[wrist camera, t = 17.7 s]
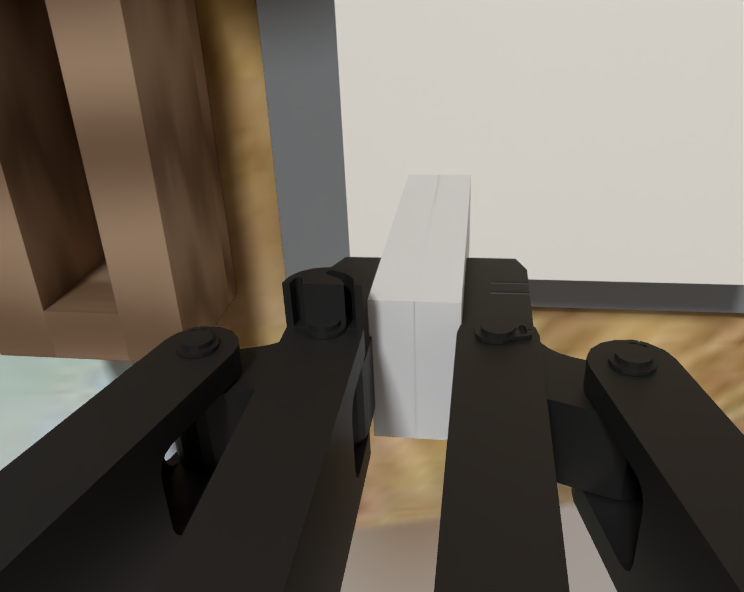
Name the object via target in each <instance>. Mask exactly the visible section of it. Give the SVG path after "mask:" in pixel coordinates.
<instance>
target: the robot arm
mask: <svg viewBox="0 0 744 592" xmlns="http://www.w3.org/2000/svg"><path fill="white" fill-rule="evenodd" d="M470 201H471V175H408V178H407V181H406V184H405V187H404V190H403V193H402V196H401V199H400V203H399V206H398V209H397V212H396V215H395V218H394V221H393V224H392V227H391V230H390V233H389V236H388V239H387V242H386V245H385V248H384V251H383V254H382V257H381V258H379V257H345V258H343V259H342V260H341V261H339V262H338V263H336V264H335V265H333V266H332V267H322V268H312V269H308V270H303V271H300V272H297V273H295V274H293V275H291V276H289V277H288V278H287V279H286V280H285V281H284V282H283V283H282V287H283V296H284V305H285V314H286V323H287V328H286V330H285V332H284V334H283V336H282V338H281V340H280V342H278V343H275V344H271V345H266V346H260V347H253V348H246V349H240V348H239V341H238V337H237V336H236V335H235V334H234V333H233V332H232V331H230V330H227V329H224V328H221V327H209V326H200V327H193V328H189V329H188V330H185V331H182V332H179V333H176V334H174V335H173V336H171V337H169V338H168V339H166V340H164V341H163V342H162V343H161V344H159V345H158V346H157V347H155V348H154V349H153V350H152V351H150V352H149V353H148V354H147V355H145V356H144V357H143V358H142V359H140V360H139V361H138V362H137V363H135V364H134V365H133V366H132V367H130V368H129V369H128V370H127V371H125V372H124V373H123V374H122V375H120V376H119V377H118V378H116V379H115V380H114V381H113V382H111V383H110V384H109V385H108V386H106V387H105V388H104V389H103V390H101V391H100V392H99V393H98V394H96V395H95V396H94V397H93V398H91V399H90V400H89V401H88V402H86V403H85V404H84V405H82V406H81V407H80V408H79V409H77V410H76V411H75V412H74V413H72V414H71V415H70V416H69V417H67V418H66V419H65V420H64V421H62V422H61V423H60V424H59V425H57V426H56V427H55V428H54V429H52V430H51V431H50V432H49V433H47V434H46V435H45V436H43V437H42V438H41V439H40V440H38V441H37V442H36V443H35V444H33V445H32V446H31V447H30V448H28V449H27V450H26V451H25V452H23V453H22V454H21V455H20V456H18V457H17V458H16V459H15V460H13V461H12V462H11V463H9V464H8V465H7V466H6V467H4V468H3V469H2V470H1V471H0V592H340V590H341V585H342V581H343V577H344V572H345V568H346V563H347V559H348V554H349V549H350V545H351V541H352V536H353V532H354V527H355V523H356V518H357V514H358V509H359V505H360V500H361V496H362V491H363V487H364V482H365V478H366V473H367V469H368V464H369V460H370V455H371V451H370V433H369V431H370V426H371V422H372V418H373V420H374V436H389V437H405V438H422V439H438V440H447V450H446V461H445V473H444V484H443V496H442V507H441V519H440V530H439V543H438V554H437V565H436V576H435V589H434V592H569V584H568V575H567V567H566V558H565V550H564V541H563V532H562V523H561V515H560V506H559V498H558V489H557V483H561V484H564V485H567V486H570V487H572V489H571V491H572V496H573V501H574V503H575V505H576V507H577V509H578V511H579V513H580V515H581V517H582V519H583V521H584V524H585V525H586V528H587V530H588V532H589V534H590V536H591V538H592V540H593V542H594V544H595V546H596V548H597V550H598V553H599V555H600V557H601V559H602V561H603V563H604V565H605V567H606V569H607V571H608V573H609V575H610V577H611V579H612V581H613V583H614V586H615V588H616V590H617V592H744V435H743V434H742V433H741V431H740V430H739V429H738V428H737V427H736V426H735V425H734V424H733V423H732V421H731V420H730V419H729V418H728V417H727V416H726V415H725V414H724V412H723V411H722V410H721V409H720V408H719V407H718V406H717V405H716V403H715V402H714V401H713V400H712V399H711V398H710V397H709V396H708V394H707V393H706V392H705V391H704V390H703V389H702V388H701V387H700V385H699V384H698V383H697V382H696V381H695V380H694V379H693V378H692V376H691V375H690V374H689V373H688V372H687V371H686V370H685V369H684V367H683V366H682V365H681V364H680V363H679V362H678V361H677V360H676V359H675V358H674V357H673V356H671V355H670V354H669V353H668V352H666V351H665V350H663V349H660V348H658V347H656V346H653V345H651V344H649V343H645V342H641V341H640V342H638V341H636V340H613V341H608V342H604V343H600V344H598V345H597V346H595V347H593V348H591V349H590V351H589V353H588V355H587V358H586V360H583V359H578V358H574V357H570V356H566V355H563V354H560V353H557V352H555V351H553V350H551V349H549V348H547V347H546V346H545V345H543V344H542V343H541V342H540V336H539V334H538V332H537V330H536V328H535V327H534V326H533V319H532V310H531V301H530V295H529V293H530V292H529V284H528V274H527V269H526V268H525V267H524V266H523V265H522V264H521V263H519V262H518V261H517V260H516V259H507V258H469V244H470ZM174 442H175V443H176V448H177V452H176V453H175V454H174V455H173V456H172V457H171V458H170V459H169V460H167V461H166V460H165V459H164V456H165V454H166V452H167V451H168V449H169V448H170V446H171V445H172V444H173V443H174Z"/></svg>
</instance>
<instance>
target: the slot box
mask: <svg viewBox="0 0 744 592" xmlns="http://www.w3.org/2000/svg"><path fill="white" fill-rule="evenodd" d="M236 294H237V290H236V283H235V276H234V269H233V263H232V256H231V249H230V242H229V235H228V228H227V221H226V214H225V207H224V200H223V193H222V186H221V180H220V173H219V166H218V159H217V152H216V145H215V138H214V131H213V124H212V117H211V110H210V103H209V97H208V90H207V83H206V76H205V69H204V62H203V55H202V48H201V41H200V34H199V27H198V20H197V14H196V7H195V0H0V354H1V355H13V356H35V357H56V358H78V359H100V360H122V361H139V360H140V359H142V358H143V357H144V356H145V355H147V354H148V353H149V352H150V351H152V350H153V349H154V348H155V347H157V346H158V345H159V344H161V343H162V342H163V341H164V340H166V339H168V338H169V337H171V336H173V335H174V334H176V333H179V332H182V331H185V330H188V329H189V328H193V327H200V326H209V327H214V326H215V325H216V323H217V322H218V320H219V319H220V317H221V316H222V314H223V313H224V312H225V310H226V309H227V307H228V306H229V304H230V303H231V301H232V300H233V298H234V297H235V296H236Z"/></svg>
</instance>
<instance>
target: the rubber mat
mask: <svg viewBox="0 0 744 592" xmlns="http://www.w3.org/2000/svg"><path fill="white" fill-rule="evenodd" d="M256 5H257V14H258V23H259V32H260V42H261V51H262V60H263V70H264V79H265V88H266V97H267V107H268V116H269V125H270V135H271V144H272V153H273V162H274V172H275V181H276V190H277V199H278V209H279V218H280V227H281V237H282V246H283V255H284V264H285V274H286V279H287V278H288V277H289V276H291V275H293V274H295V273H297V272H300V271H303V270H308V269H312V268H322V267H332V266H333V265H335V264H336V263H338V262H339V261H341V260H342V259H343V258H345V257H350V248H349V232H348V215H347V199H346V182H345V166H344V150H343V133H342V117H341V100H340V84H339V67H338V51H337V34H336V18H335V2H334V0H256ZM528 284H529V292H530V293H529V295H530V301H531V307H560V308H592V309H624V310H656V311H688V312H721V313H744V285H729V284H690V283H651V282H612V281H572V280H533V279H528Z"/></svg>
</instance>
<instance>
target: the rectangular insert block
mask: <svg viewBox="0 0 744 592" xmlns="http://www.w3.org/2000/svg"><path fill="white" fill-rule="evenodd" d="M334 2H335V18H336V34H337V51H338V67H339V84H340V100H341V117H342V133H343V150H344V166H345V182H346V199H347V215H348V232H349V248H350V257H379V258H381V257H382V254H383V251H384V248H385V245H386V242H387V239H388V236H389V233H390V230H391V227H392V224H393V221H394V218H395V215H396V212H397V209H398V206H399V203H400V199H401V196H402V193H403V190H404V187H405V184H406V181H407V178H408V175H471V201H470V244H469V258H507V259H516V260H517V261H518V262H519V263H521V264H522V265H523V266H524V267H525V268H526V269H527V274H528V279H533V280H572V281H612V282H651V283H690V284H729V285H744V0H334Z"/></svg>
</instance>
